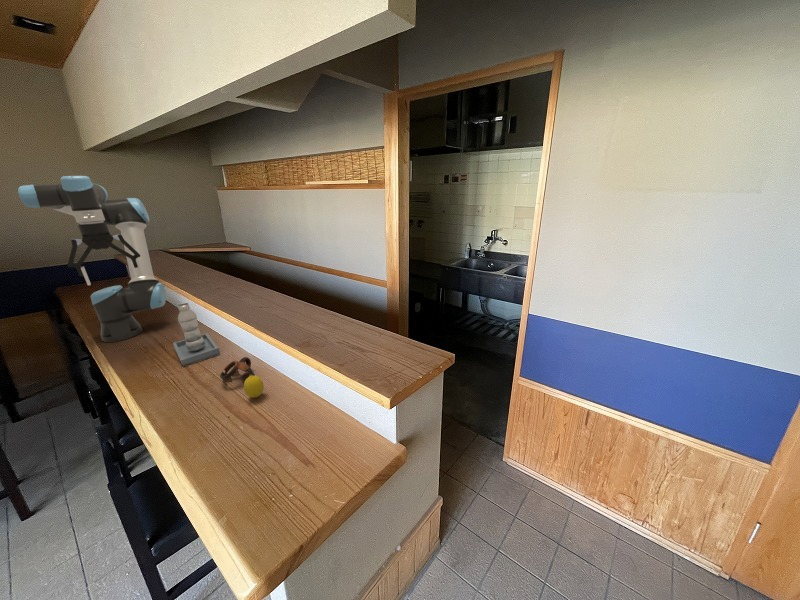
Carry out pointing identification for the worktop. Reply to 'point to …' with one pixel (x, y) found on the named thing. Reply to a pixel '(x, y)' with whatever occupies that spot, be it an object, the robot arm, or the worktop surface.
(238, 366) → the brown irregular piece
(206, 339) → the tray
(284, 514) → the worktop surface
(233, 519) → the worktop surface
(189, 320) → the plastic bottle
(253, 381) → the lemon
